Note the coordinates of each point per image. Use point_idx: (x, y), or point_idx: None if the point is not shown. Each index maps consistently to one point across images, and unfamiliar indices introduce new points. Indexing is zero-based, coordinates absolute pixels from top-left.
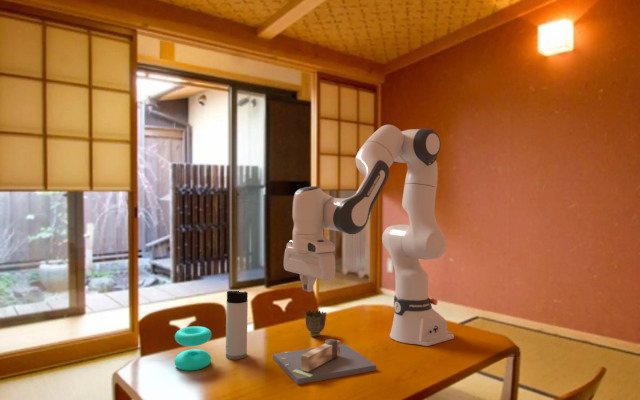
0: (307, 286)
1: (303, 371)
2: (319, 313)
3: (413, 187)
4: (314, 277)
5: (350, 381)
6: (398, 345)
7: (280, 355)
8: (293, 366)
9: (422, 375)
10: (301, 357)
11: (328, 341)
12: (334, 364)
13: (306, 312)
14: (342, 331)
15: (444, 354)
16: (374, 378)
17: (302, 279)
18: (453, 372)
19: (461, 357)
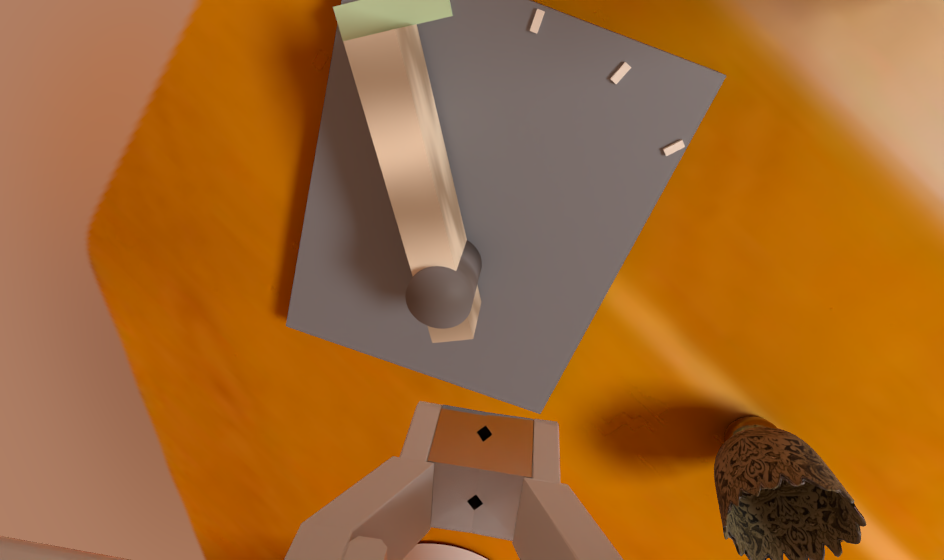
0: (425, 448)
1: None
2: (794, 551)
3: None
4: (37, 551)
5: (264, 167)
6: None
7: (672, 95)
8: (498, 40)
9: (186, 378)
10: (397, 28)
11: (443, 287)
12: (387, 216)
13: (860, 519)
14: (679, 524)
15: (280, 533)
16: (241, 255)
17: (566, 556)
18: (163, 446)
19: (238, 538)
